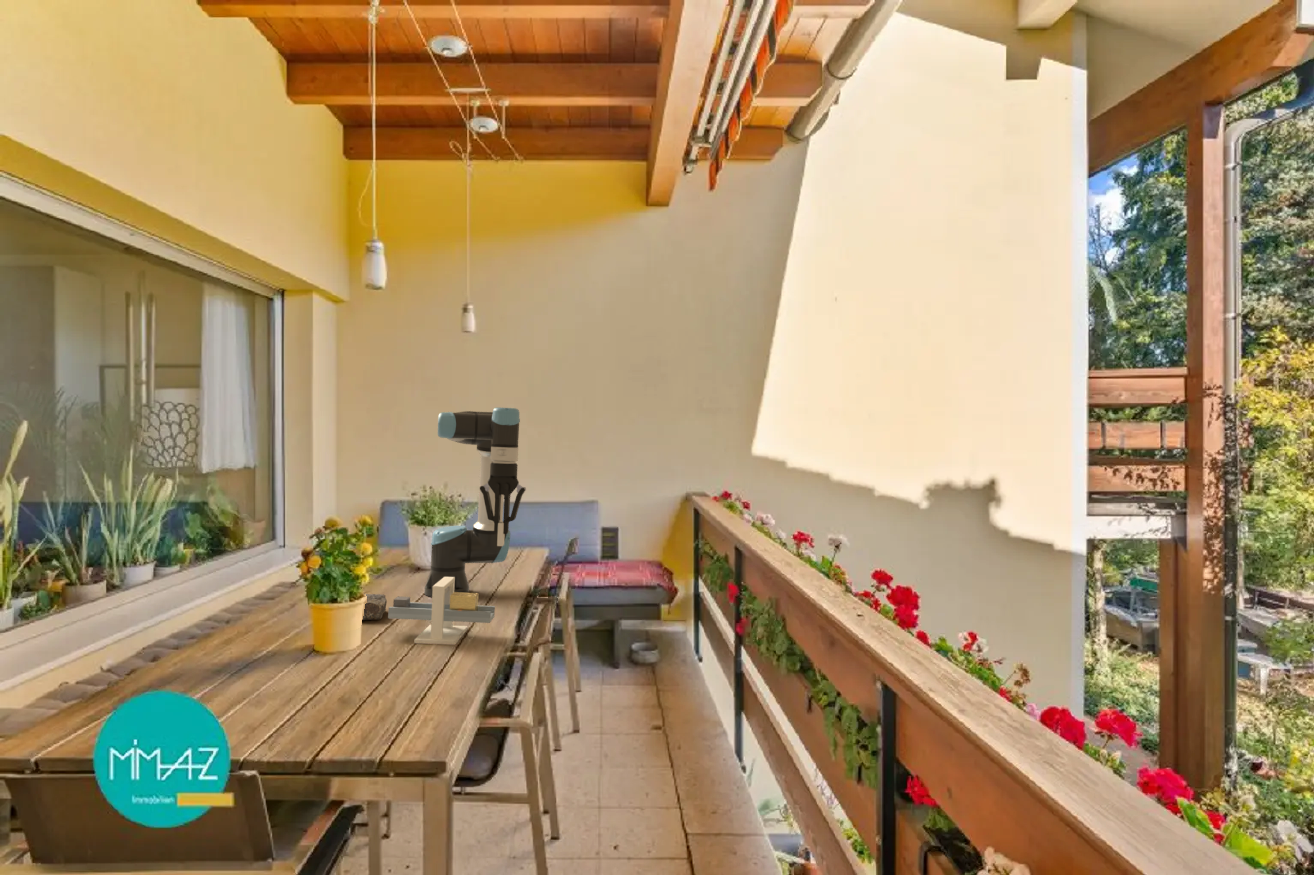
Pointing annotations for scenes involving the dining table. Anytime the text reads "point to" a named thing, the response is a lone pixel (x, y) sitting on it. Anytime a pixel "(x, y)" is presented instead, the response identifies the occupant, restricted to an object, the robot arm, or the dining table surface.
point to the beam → (424, 611)
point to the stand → (441, 618)
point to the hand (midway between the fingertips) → (500, 545)
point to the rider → (464, 601)
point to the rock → (374, 606)
